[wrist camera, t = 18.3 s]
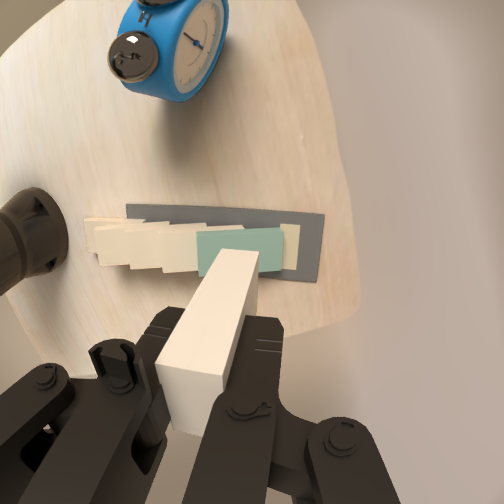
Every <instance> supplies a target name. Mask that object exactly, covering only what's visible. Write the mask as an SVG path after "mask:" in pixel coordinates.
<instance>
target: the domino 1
mask: <svg viewBox="0 0 504 504" xmlns="http://www.w3.org/2000/svg"><path fill="white" fill-rule="evenodd" d="M83 223H84V230H85V236H86V242H87V248H88V253H97V249H96V242H95V236H94V229H95V228H96V227H98V226H110V225H122V224H135V223H146V219H122V218H94V217H89V218H87V219H85V220H83Z"/></svg>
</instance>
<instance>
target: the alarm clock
mask: <svg viewBox="0 0 504 504" xmlns="http://www.w3.org/2000/svg"><path fill="white" fill-rule="evenodd" d="M228 19H229V5H228V0H134V1H133V2H132V3H131V5H130V6H129V8H128V10H127V11H126V13H125V15H124V17H123V19H122V22H121V24H120V27H119V30H118V34H117V38H116V39H115V40H114V41H113V42H112V44H111V46H110V47H109V51H108V55H107V62H108V66H109V69H110V71H111V72H112V74H113V75H114V76H115V77H116V78H118V79H120V81H121V82H122V84H123V85H124V86H125V87H126V88H127V89H129V90H131V91H133V92H137V93H141V94H146V95H150V96H154V97H158V98H162V99H166V100H170V101H174V102H184V101H186V100H188V99H190V98H192V97H193V96H194V95H195V94H196V93H197V92H198V91H199V90H200V89H201V88H202V86H203V85H204V83H205V82H206V80H207V79H208V77H209V76H210V74H211V72H212V70H213V68H214V66H215V64H216V62H217V59H218V57H219V54H220V52H221V49H222V46H223V43H224V39H225V36H226V31H227V26H228Z"/></svg>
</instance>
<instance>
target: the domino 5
mask: <svg viewBox="0 0 504 504" xmlns="http://www.w3.org/2000/svg"><path fill="white" fill-rule="evenodd" d="M283 237H284V231H283V230H282V229H281V228H280V227H278V228H255V229H234V230H215V231H197V232H196V240H197V262H198V274H199V277H202V276H205V275H206V274H207V272H208V270H209V269H210V267H211V265H212V264H213V262H214V260H215V259H216V257H217V255H218V254H219V252H220V250H221V249H235V250H247V251H259V272H267V271H279V270H281V265H282V251H283Z"/></svg>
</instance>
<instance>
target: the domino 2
mask: <svg viewBox="0 0 504 504" xmlns="http://www.w3.org/2000/svg"><path fill="white" fill-rule="evenodd" d="M159 225H170V222H169V221H163V222H148V223H135V224H122V225H110V226H98V227H96V228H95V229H94V236H95V242H96V249H97V254H98V260H99V265H100V266H112V265H127V264H130V263H129V256H128V248H127V241H126V230H127V228H132V227H145V226H159Z"/></svg>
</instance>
